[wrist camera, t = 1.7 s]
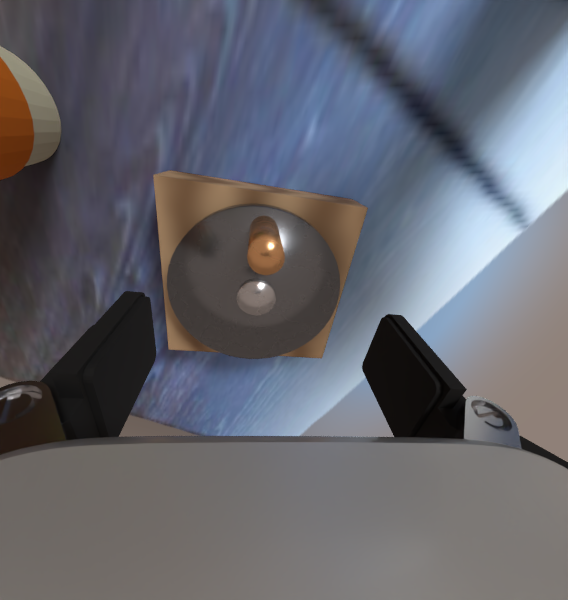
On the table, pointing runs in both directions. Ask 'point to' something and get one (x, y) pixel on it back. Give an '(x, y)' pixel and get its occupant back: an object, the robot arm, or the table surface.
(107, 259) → the table surface
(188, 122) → the table surface
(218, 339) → the handwheel
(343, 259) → the block
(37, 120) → the reusable coffee cup
